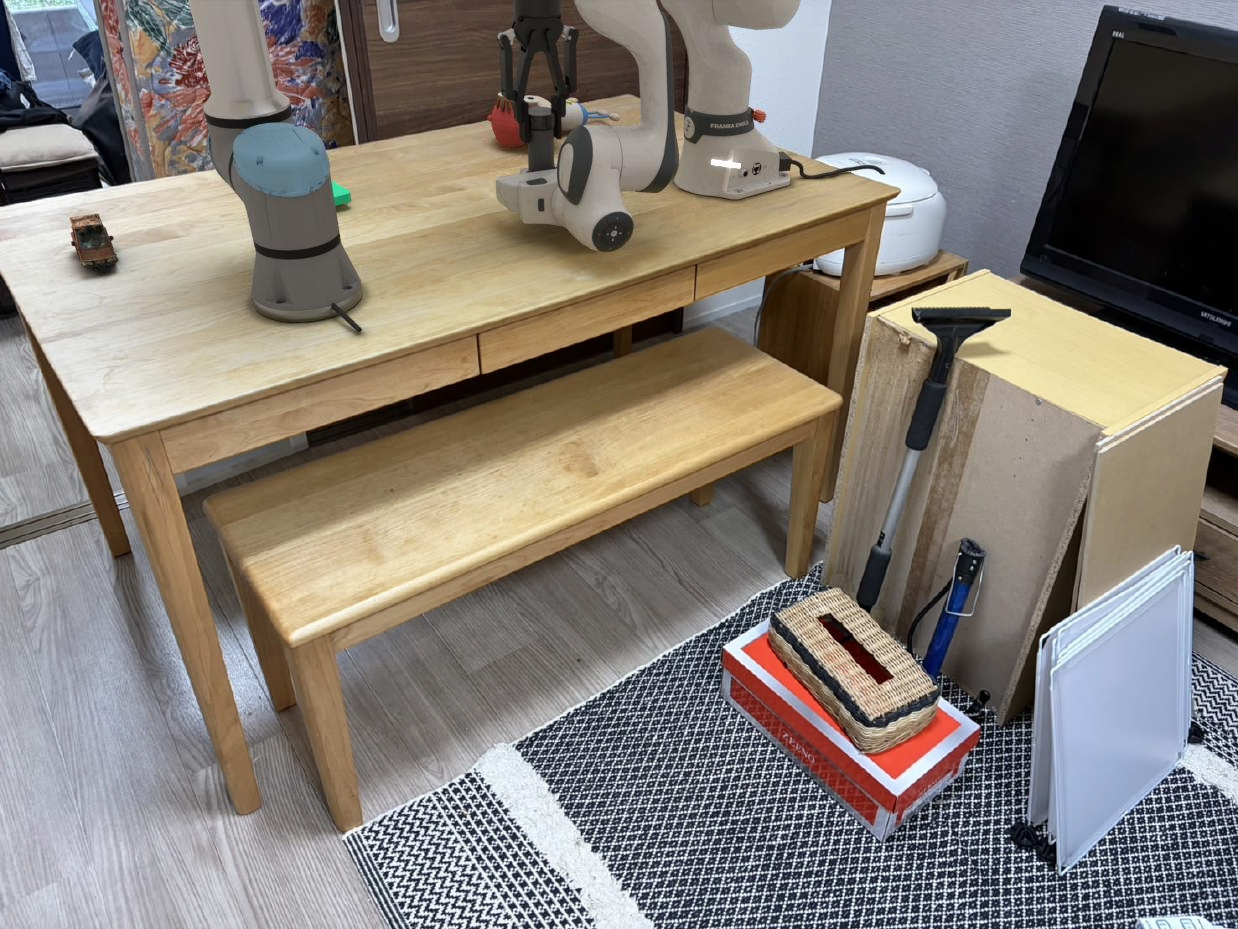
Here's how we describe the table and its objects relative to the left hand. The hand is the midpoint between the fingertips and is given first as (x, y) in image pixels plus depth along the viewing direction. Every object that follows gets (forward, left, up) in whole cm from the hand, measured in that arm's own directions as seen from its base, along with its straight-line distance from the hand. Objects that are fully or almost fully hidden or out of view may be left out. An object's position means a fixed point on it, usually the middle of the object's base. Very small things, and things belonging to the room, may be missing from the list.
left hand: (540, 138), depth 157 cm
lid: (0, 0, +4) cm, 4 cm away
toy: (+36, -21, -12) cm, 43 cm away
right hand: (+1, 0, -6) cm, 6 cm away
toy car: (+12, +70, -12) cm, 73 cm away
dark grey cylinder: (0, 0, -12) cm, 12 cm away
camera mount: (+20, +34, -12) cm, 42 cm away
